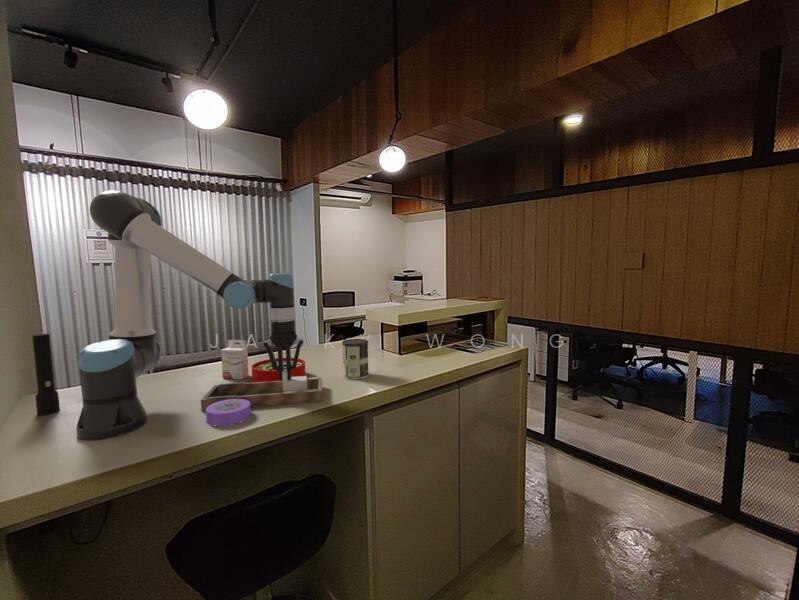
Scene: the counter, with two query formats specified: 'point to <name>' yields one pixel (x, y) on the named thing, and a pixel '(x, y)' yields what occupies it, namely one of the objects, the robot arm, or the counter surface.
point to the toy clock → (266, 373)
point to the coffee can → (355, 359)
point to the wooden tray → (240, 389)
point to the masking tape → (228, 412)
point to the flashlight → (44, 376)
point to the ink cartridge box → (235, 360)
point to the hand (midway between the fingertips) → (285, 389)
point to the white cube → (297, 383)
